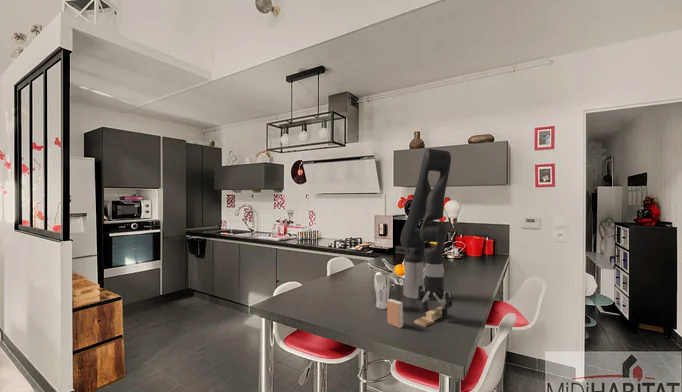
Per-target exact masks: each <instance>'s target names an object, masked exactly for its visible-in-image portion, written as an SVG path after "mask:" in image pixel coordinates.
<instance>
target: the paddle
mask: <svg viewBox="0 0 682 392" xmlns="http://www.w3.org/2000/svg"><path fill="white" fill-rule="evenodd" d="M438 318H439V319H440V318H442V306H438V307H435V308H433V309H431V310H428V311H427V312H425V316H421V317H419V318H417V319H415V320H414V321H413V322H414V324H416V325H419V326H422V327H429V326H430V325H432V324H434V323H435V321H436V320H439V319H438Z"/></svg>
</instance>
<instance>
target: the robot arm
mask: <svg viewBox="0 0 682 392" xmlns="http://www.w3.org/2000/svg"><path fill="white" fill-rule="evenodd" d="M451 164H452V156H451V153H450V152H449V151H447V150H444V149H443V150H442V149H436V148H427V149H426V150H425V151H424V154H423V157H422V161H421V165H420V170H419V175H418V180H417V183H416V187H415V189H414V193H413V196H412V199H411V204H410V208H409V211H408V215H407V217H406V220H405V223H404V225H403V227H402V230H401V234H400V239H399V241H400V245H401V246H402V247H404V248H406V249H410V248H412V250H411V251H410V252H408V253H406V254H405V255H404V256H403V257H404V275H403V277H402V291H403V292H402V294H403V296H405V297H406V298H408V299H413V300H419V301H421V302H422V311H423V312H424V313H426V312H428V311H429V302H428V301H429V300H434V301H435V302H437V303H438V304H440V307H442V317H441V318H442V319H446V318H447V317H448V309H450V308H453V297H452V292H451V291H450V290H449V291H446V290H444V288H445V287H444V286H445V275H444V274H445V272H444V271H445V269H444V256H443V255H444V247H445V244H446V240H447V237H448V230H447V228H446V226H445V225H443V224H432V223H433V222H434V221H438V220H441V219H443V218H444V209H445V207H444V206H445V197H446V196H445V195H446V190H447V186H448V180H449V173H450V169H451ZM430 171H431V172H437V173H439V177H438V180H437V181H436V183H435V185H434V186H433V187H431V185H430V180H429V172H430ZM420 222H422V223H421V227H420V228H416V227H417V226H418V225H419V223H420ZM426 243H436V245H435V246H432V247H431V246H430V247H427V248H425V247H426V245H425V244H426Z"/></svg>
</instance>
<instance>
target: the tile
mask: <svg viewBox="0 0 682 392" xmlns="http://www.w3.org/2000/svg"><path fill="white" fill-rule="evenodd" d="M403 303H404V302H402V301H399V300H396V299H392V298H388V300H387V309H386V310H387V313H386V314H387V315H386V316H387V317H386V318H387V319H386V320H387V324H389V325H391V326H394V327H396V328H398V329H400V328H403V327H404V307H403V305H404V304H403Z"/></svg>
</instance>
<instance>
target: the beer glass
mask: <svg viewBox="0 0 682 392" xmlns="http://www.w3.org/2000/svg"><path fill="white" fill-rule="evenodd" d="M390 279H391V277H390V272H387V271H375V272H374V279H373V282H374V284H373V286H374V292H375V298H376V300H375V301H376V302H375V308H376V309H379V310H387V300H389V295H390V289H391V288H390V286H391V281H390Z"/></svg>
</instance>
